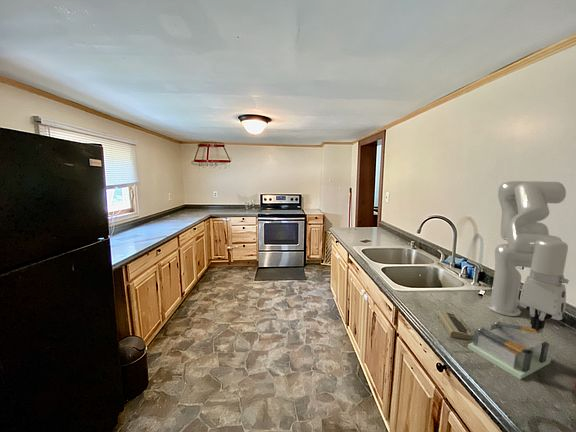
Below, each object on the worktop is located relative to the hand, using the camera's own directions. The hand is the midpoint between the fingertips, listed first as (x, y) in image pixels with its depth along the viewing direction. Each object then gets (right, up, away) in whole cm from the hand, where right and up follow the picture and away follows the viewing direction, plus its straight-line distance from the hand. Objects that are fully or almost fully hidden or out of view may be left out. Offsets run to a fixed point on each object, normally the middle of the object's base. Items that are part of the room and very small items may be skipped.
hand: (536, 328), depth 87 cm
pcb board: (-6, -11, +4) cm, 14 cm away
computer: (-14, -9, +21) cm, 27 cm away
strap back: (-2, -2, +5) cm, 6 cm away
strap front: (-11, -5, +1) cm, 12 cm away
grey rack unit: (-6, -10, +4) cm, 12 cm away
